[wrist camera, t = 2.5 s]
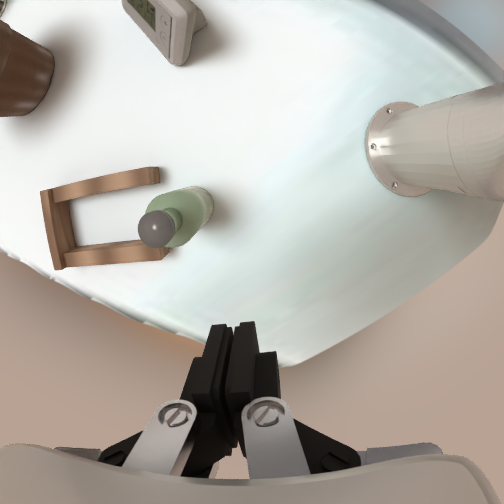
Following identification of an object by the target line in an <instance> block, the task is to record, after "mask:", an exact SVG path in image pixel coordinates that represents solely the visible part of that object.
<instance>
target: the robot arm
mask: <svg viewBox="0 0 504 504" xmlns="http://www.w3.org/2000/svg"><path fill="white" fill-rule="evenodd" d="M386 111H388V113H387V112H386ZM371 145H372V147H373V148H372V149H371V147H370V146H371ZM365 150H366V155H367V159H368V162H369V165H370V167H371V169H372V171H373V173H374V174H375V176H376V177H377V179H378V180H379V181H380V182H381V183H382V184H383V185H384V186H385V187H386V188H387V189H389V190H391V191H393V192H394V193H397V194H400V195H403V196H409V197H410V196H420V195H423V194H425V193H427V192H429V191H431V190H432V189H433V188H434V189H440V190H445V191H451V192H456V193H461V194H466V195H470V196H475V197H480V198H484V199H489V200H494V201H504V82H502V83H499V84H495V85H492V86H489V87H485V88H482V89H478V90H475V91H471V92H467V93H464V94H460V95H456V96H453V97H449V98H446V99H443V100H439V101H436V102H433V103H430V104H427V105H423V106H420V107H419V106H417V105H415V104H412V103H408V102H395V103H390V104H388V105H386V106H384V107H382V108H381V109H379V110H378V111H377V112H376V113H375V114H374V115H373V117H372V119H371V120H370V122H369V124H368V127H367V130H366V137H365ZM392 183H393V186H392ZM238 442H239V444H240V447H241V451H242V454H243V456H244V457H246V459H247V463H248V470H249V477H250V479H215V476H216V474H217V470H218V468H219V460H220V459H222V458H223V457H225V456H231V453H232V448H236V447H237V444H238ZM0 504H501V502H500V500H499V498H498V496H497V494H496V492H495V490H494V489H493V487H492V485H491V483H490V481H489V480H488V479H487V477H486V476H485V474H484V473H483V472H482V470H481V469H480V468H479V467H478V466H477V465H476V464H475V463H474V462H473V461H471V460H469V459H468V458H465V457H461V456H457V455H448V454H443V452H442V450H441V449H440V448H439V447H438V446H437V445H435V444H432V443H418V444H410V445H402V446H392V447H379V448H367V451H355V450H354V449H352V448H350V447H349V446H347V445H344V444H342V443H340V442H338V441H336V440H334V439H332V438H330V437H328V436H326V435H324V434H322V433H320V432H318V431H316V430H314V429H312V428H310V427H308V426H306V425H304V424H302V423H301V422H299V421H297V420H295V419H293V417H292V414H291V411H290V408H289V406H288V405H287V403H285V402H284V401H283V400H281V394H280V379H279V369H278V361H277V353H276V351H274V352H264V353H260V352H259V346H258V340H257V334H256V327H255V322H254V321H252V322H241V323H240V326H237V327H235V330H234V335H233V330H232V327H227V325H226V324H219V325H212V326H211V329H210V332H209V336H208V339H207V342H206V345H205V349H204V352H203V355H202V357H195V358H194V359H193V361H192V364H191V367H190V370H189V373H188V376H187V379H186V382H185V385H184V388H183V391H182V394H181V397H180V400H172V401H169V402H166V403H164V404H163V405H161V406H160V407H159V408H158V409H157V410H156V411H155V413H154V414H153V416H152V418H151V419H150V421H149V423H148V424H147V426H146V428H145V429H144V430H143V431H141V432H139V433H137V434H135V435H133V436H131V437H129V438H127V439H125V440H123V441H121V442H119V443H117V444H115V445H113V446H110V447H108V448H107V449H105V450H104V451H103V452H102V451H101V450H100V449H84V448H68V447H57V448H54V449H52V448H49V447H44V446H40V445H33V444H10V445H6V446H4V447H2V448H1V449H0Z"/></svg>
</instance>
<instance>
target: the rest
mask: <svg viewBox="0 0 504 504" xmlns="http://www.w3.org/2000/svg"><path fill="white" fill-rule="evenodd" d="M154 183H160V180H159V170H158V167H145V168H140V169H134V170H129V171H124V172H119V173H114V174H110V175H105V176H100V177H96V178H92V179H87V180H83V181H79V182H75V183H71V184H67V185H63V186H60V187H56V188H52V189H47V190H44V191H40V196H41V203H42V210H43V216H44V222H45V228H46V233H47V239H48V243H49V248H50V253H51V257H52V261H53V265H54V269H55V270H62V269H64V268H66V267H78V266H91V265H104V264H118V263H131V262H144V261H157V260H162V259H163V258H164V257H165V256H166V255H167V254H168V253H169V247H165V246H164V247H162V248H151V247H149V246H147V245H146V244H144V243H143V241H142V240H132V241H123V242H114V243H105V244H96V245H87V246H78V247H76V245H75V241H74V235H73V230H72V224H71V219H70V212H69V206H68V200H70V199H74V198H79V197H83V196H88V195H93V194H98V193H103V192H108V191H113V190H119V189H124V188H130V187H136V186H142V185H148V184H154Z"/></svg>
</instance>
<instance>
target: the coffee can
mask: <svg viewBox="0 0 504 504" xmlns="http://www.w3.org/2000/svg"><path fill="white" fill-rule="evenodd" d="M5 6H6V0H0V17H1V15H2V13H3V11H4V9H5Z"/></svg>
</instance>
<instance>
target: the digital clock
mask: <svg viewBox="0 0 504 504" xmlns="http://www.w3.org/2000/svg"><path fill="white" fill-rule="evenodd" d="M122 5H123V8H124V10H125V11H126V13H127V14H128V15H129V16H130V17H131V18H132V19H133V21H134V22H135V23H136V24H137V25H138V26H139V27H140V28H141V30H142V31H143V32H144V33H145V34H146V35H147V37H148V38H149V39H150V40H151V41H152V42H153V44H154V45H155V46H156V47H157V48H158V50H159V51H160V52H161V53H162V54H163V55H164V57H165V58H166V59H167V60H168V61H169V62H170V63H171V64H174V65H182V64H184V63H185V62H186V60H187V58H188V56H189V53H190V47H191V41H192V35H193V34H194V33H196V32H197V31H199V30H201V29H202V28H204V27H205V26H207V23H206V20H205V18H204V15H203V13H202V11H201V10H200V9H199V8H198V7H197V6H196V5H195V4H194V3H193V2H192V1H190V0H122Z"/></svg>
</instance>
